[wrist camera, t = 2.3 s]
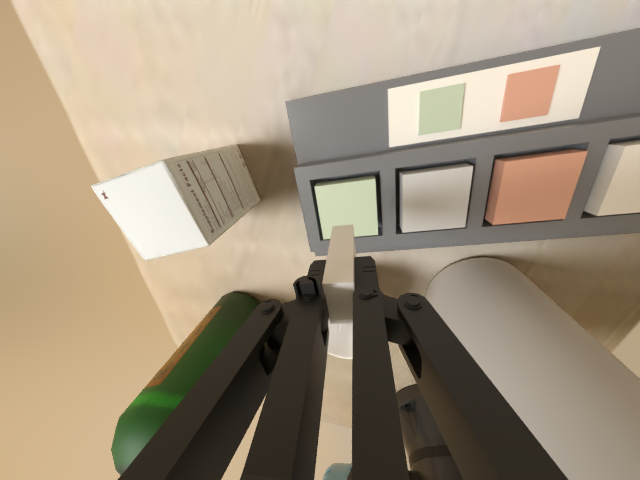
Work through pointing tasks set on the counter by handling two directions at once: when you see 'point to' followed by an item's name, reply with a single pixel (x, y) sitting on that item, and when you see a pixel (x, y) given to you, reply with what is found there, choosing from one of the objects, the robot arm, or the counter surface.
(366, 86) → the key pad
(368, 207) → the key sage
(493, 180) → the key terracotta
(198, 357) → the bottle
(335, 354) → the white cup
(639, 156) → the key white
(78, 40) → the counter surface
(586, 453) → the cylinder vase
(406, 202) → the key grey
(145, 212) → the supplement box
